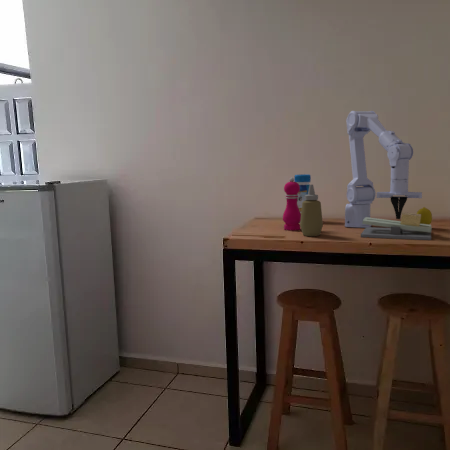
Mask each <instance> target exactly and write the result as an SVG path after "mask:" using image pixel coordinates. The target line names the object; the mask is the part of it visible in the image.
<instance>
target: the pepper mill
mask: <svg viewBox="0 0 450 450" xmlns="http://www.w3.org/2000/svg"><path fill="white" fill-rule="evenodd" d="M283 191H284V193H285V195H284V196H285V200H286V206H285V210H284V211H283V215H282V221H283V223H284V224H283V230H284V231H300V230H301V227H300V223H299V222H300V221H301V213H300V211H299V208H298V205H297V198H299V197H298V192H299V191H300V186H299V184H298V183H296V182H295V180H294V177H290V178H289V181H288V182H286V183H285V184H284V186H283Z"/></svg>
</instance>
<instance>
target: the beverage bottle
mask: <svg viewBox="0 0 450 450" xmlns="http://www.w3.org/2000/svg"><path fill="white" fill-rule="evenodd" d="M311 176H312V175H311V174H305V173H304V174H294V177H293V178H294V182H296V183H298V184H299V186H300V191H299V192H298V197H299V198H297V205H298V208H299V211H300V213H301V211H302V202H303V201H305V195H308V191H309V186H310V185H311V184H310V183H311V180H312V179H311ZM299 224H300V222H299Z"/></svg>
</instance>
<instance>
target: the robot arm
mask: <svg viewBox="0 0 450 450" xmlns="http://www.w3.org/2000/svg"><path fill="white" fill-rule="evenodd" d="M345 121H346V130H347V131H346V132H347V135H348V143H349V152H350V160H351V161H350V162H351V173H352V179H351V181H349V183H348V184H347V188H346V189H347V190H346V199H347V201H348V202H349V203H346V205H345V207H344V208H345V209H344V227H345V228H364V229H365V228H366V227H372V226H373V225H367V224H362V223H363V220H364V219H365V217H369V218H371V204H373V201H375V199H376V198H377V199H380V198H381V199H383V198H384V199H387V198H388V199H390V202H391V204H392V207H393V210H394V212H395V213H394V214H395V220H401V217H402V212H403V208H404V206H405V204H406V203H407V200H408V199H423V192H421V191H409V173H410V172H409V169H410V160H411V159H412V158H413V156H414V148H413V146H412V145H411V143H406V142H403V140H402V139H401V138H399V137H398V136H397V134H396V132H395V131H394V130H387V128H385V126H384V125H383V123H382V122H381V121H380V120H379V115H378V114H377V112H376V111H374V110H369V111H368V110H367V111H363V110H362V111H361V110H358V111H357V110H351V111H350V112H349V113H348V114H347V118H346V119H345ZM370 132H372V133H373V134H374V135H376V136H377V138H378V143H379V144H380V146H381V147H383V149H384V150H385V151H386V152H387V153H386V154H387V155H386V156H387V159H388V160H389V166H390V187H389V188H390V189H389V191H376V189H375V186H374V182H373V181H372V180H371V179H369V178H368V172H367V165H366V164H367V163H366V161H367V160H366V153H365V143H364V137H365V136H366V135H368V134H369V133H370Z"/></svg>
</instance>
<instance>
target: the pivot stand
mask: <svg viewBox="0 0 450 450" xmlns="http://www.w3.org/2000/svg"><path fill="white" fill-rule="evenodd" d="M367 237H369V238H371V239H374V238H375V239H391V238H392V240H393V239H396V240H397V239H399V240H415V241H416V240H420V241H421V240H422V241H432V231H431V232H423V231H415V230H407V229H400V227H395V226H391V227H377V226H375V227H372V226H371V227H366V228H364V229H363V231H362V232H361V233H360V238H367Z"/></svg>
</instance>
